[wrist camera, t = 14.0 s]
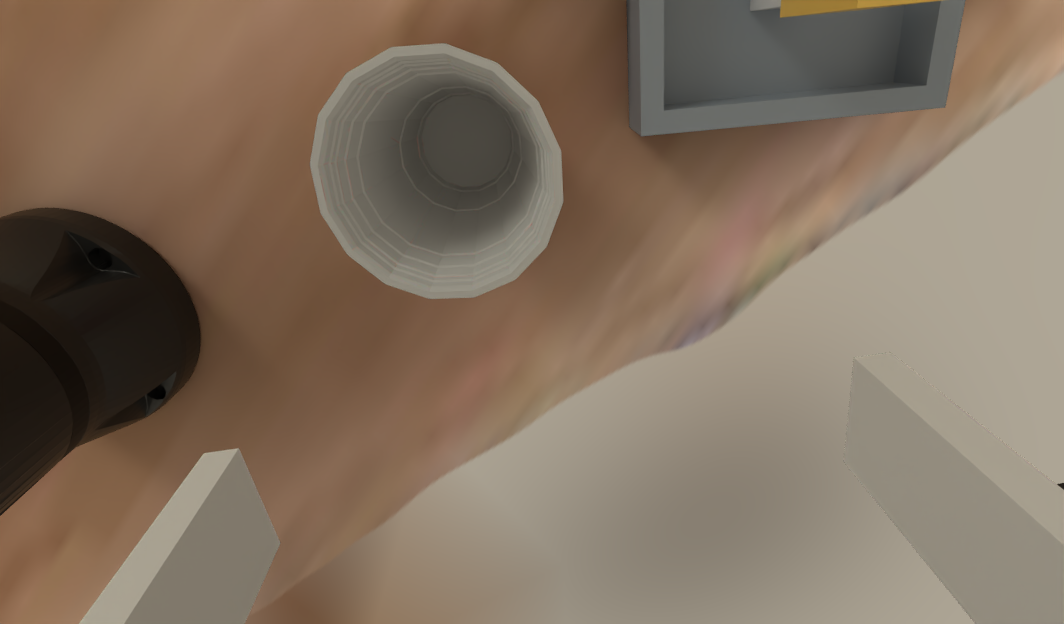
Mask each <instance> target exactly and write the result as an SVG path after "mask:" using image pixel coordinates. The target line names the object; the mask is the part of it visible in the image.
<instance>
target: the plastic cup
mask: <svg viewBox="0 0 1064 624" xmlns="http://www.w3.org/2000/svg"><path fill="white" fill-rule="evenodd" d="M310 168H311V172H312V177H313V181H314V186H315V190H316V195H317V199H318V204H319V208H320V213H321V215H322V216H323V218H324V219H325V221H326V222H327V224H328V225H329V227H330V229H331V230H332V232H333V233H334V235H335V236H336V238H337V239H338V241H339V242H340V244H341V246H342V247H343V249H344V250H345V252H346V253H347V255H348V256H350V257H351V258H352V259H354V260H355V261H356V262H357V263H359V264H360V265H361V266H363V267H364V268H365V269H366V270H368V271H369V272H370V273H372V274H373V275H374V276H375V277H377V278H378V279H379V280H381V281H382V282H383V283H384V284H386V285H389V286H392V287H395V288H398V289H401V290H404V291H407V292H410V293H413V294H416V295H419V296H422V297H425V298H428V299H442V298H473V297H477V296H479V295H481V294H484V293H486V292H488V291H490V290H493V289H495V288H497V287H500V286H502V285H504V284H507V283H509V282H511V281H513V280H516V278H517V277H518V276H519V275H520V274H521V273H522V272H523V271H524V270H525V269H526V268H527V267H528V266H529V265H530V264H531V263H532V262H533V261H534V260H535V259H536V258H537V256H538V255H539V254H540V253H541V252H542V251H543V250H544V249H545V248H546V247H547V245H548V242H549V239H550V237H551V234H552V231H553V229H554V226H555V223H556V220H557V218H558V215H559V212H560V210H561V207H562V204H563V182H562V159H561V149H560V147H559V145H558V143H557V141H556V139H555V136H554V134H553V132H552V130H551V128H550V125H549V123H548V121H547V119H546V117H545V115H544V112H543V110H542V108H541V106H540V104H539V101H538V100H536V99H535V98H534V97H533V96H532V95H531V94H530V93H529V92H528V91H527V90H526V89H525V88H524V87H523V86H522V85H521V84H519V83H518V82H517V81H516V80H515V79H514V78H513V77H512V76H511V75H510V74H509V73H508V72H507V71H506V70H505V69H504V68H502V67H501V66H500V65H499V64H498V63H497V62H494V61H491V60H489V59H486V58H483V57H480V56H478V55H475V54H472V53H470V52H467V51H464V50H462V49H459V48H456V47H454V46H451V45H448V44H446V43H442V44H428V45H414V46H400V47H390V48H389V49H387V50H385V51H384V52H382V53H380V54H378V55H377V56H375V57H373V58H371V59H370V60H368V61H366V62H365V63H363V64H361V65H359V66H358V67H356V68H354V69H352V70H351V71H349V72H347V73H346V74H345V76H344V77H343V79H342V80H341V82H340V83H339V85H338V86H337V88H336V89H335V91H334V92H333V93H332V95H331V96H330V98H329V99H328V101H327V102H326V104H325V105H324V107H323V108H322V110H321V111H320V113H319V114H318V118H317V124H316V130H315V136H314V142H313V148H312V154H311V160H310Z"/></svg>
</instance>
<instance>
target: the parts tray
mask: <svg viewBox="0 0 1064 624" xmlns="http://www.w3.org/2000/svg"><path fill="white" fill-rule="evenodd" d="M964 5H965V0H943V1H935V2H926V3H917V4H909V5H900V6H891V7H883V8H874V9H865V10H856V11H846V12H835V13H825V14H814V15H803V16H793V17H782V18H780V9H781V8H779V9H769V10H758V11H750V0H627V42H628V87H629V127H630V128H631V129H632V130H634V131H635V132H636V133H638V134H639V135H640V136H650V135H661V134H671V133H682V132H692V131H703V130H713V129H724V128H734V127H745V126H755V125H766V124H776V123H787V122H797V121H808V120H818V119H829V118H839V117H850V116H860V115H871V114H881V113H892V112H903V111H913V110H924V109H934V108H945V106H946V101H947V95H948V90H949V85H950V80H951V74H952V69H953V64H954V58H955V53H956V48H957V42H958V37H959V32H960V26H961V21H962V16H963V10H964Z"/></svg>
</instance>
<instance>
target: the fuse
mask: <svg viewBox="0 0 1064 624" xmlns="http://www.w3.org/2000/svg"><path fill="white" fill-rule="evenodd" d="M935 1H943V0H750V11H758V10H769V9H779V8H781V9H780V18H782V17H793V16H803V15H814V14H825V13H835V12H846V11H856V10H865V9H874V8H883V7H891V6H900V5H909V4H917V3H926V2H935Z"/></svg>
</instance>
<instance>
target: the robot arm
mask: <svg viewBox="0 0 1064 624" xmlns="http://www.w3.org/2000/svg"><path fill="white" fill-rule="evenodd" d="M199 351H200V329H199V323H198V318H197V315H196V311H195V308H194V306H193V303H192V301H191V299H190V297H189V295H188V293H187V291H186V289H185V287H184V286H183V284H182V283H181V281H180V280H179V278H178V277H177V275H176V274H175V273H174V271H173V270H172V269H171V268H170V267H169V265H168V264H167V263H166V262H165V261H164V260H163V259H162V258H161V257H160V256H159V255H158V254H157V253H156V252H155V251H154V250H153V249H151V248H150V247H149V246H148V245H146V244H145V243H144V242H142V241H141V240H140V239H138V238H137V237H135V236H134V235H132V234H131V233H129V232H128V231H126V230H124V229H122V228H121V227H119V226H117V225H115V224H113V223H111V222H108V221H106V220H104V219H101V218H98V217H95V216H93V215H89V214H86V213H82V212H78V211H73V210H67V209H59V208H36V209H29V210H24V211H19V212H16V213H13V214H10V215H7V216H4V217H1V218H0V516H1V515H2V514H3V513H4V512H5V511H6V510H7V509H8V508H9V507H10V506H11V505H13V504H14V503H15V502H16V501H17V500H18V499H19V498H20V497H21V496H22V495H24V494H25V493H26V492H27V491H28V490H29V489H30V488H31V487H32V486H33V485H34V484H36V483H37V482H38V481H39V480H40V479H41V478H42V477H43V476H44V475H45V474H46V473H48V472H49V471H50V470H51V469H52V468H53V467H54V466H55V465H56V464H57V463H58V462H59V461H60V460H62V459H63V458H64V457H65V456H66V455H67V454H68V453H70V452H71V451H72V450H73V449H74V448H75V447H78V446H80V445H82V444H85V443H87V442H90V441H92V440H94V439H97V438H99V437H102V436H104V435H106V434H109V433H111V432H114V431H116V430H118V429H121V428H123V427H126V426H128V425H130V424H133V423H135V422H137V421H140V420H142V419H144V418H146V417H148V416H149V415H151V414H152V413H154V412H155V411H157V410H158V409H160V408H161V407H162V406H163V405H165V404H166V403H167V402H168V401H169V400H170V399H171V398H172V397H173V396H174V395H175V394H176V393H177V392H178V391H179V390H180V389H181V388H182V387H183V386H184V385H185V383H186V382H187V381H188V379H189V378H190V376H191V375H192V373H193V371H194V368H195V366H196V363H197V360H198V356H199ZM844 463H845V464H846V465H847V467H848V468H849V469H850V471H851V472H852V473H853V474H854V475H855V477H856V478H857V479H858V480H859V481H860V483H861V484H862V485H863V486H864V488H865V489H866V490H867V491H868V493H869V494H870V495H871V496H872V498H873V499H874V500H875V501H876V502H877V503H878V505H879V506H880V507H881V508H882V510H883V511H884V512H885V513H886V514H887V516H888V517H889V518H890V520H891V521H892V522H893V523H894V525H895V526H896V527H897V528H898V529H899V531H900V532H901V533H902V534H903V536H904V537H905V538H906V539H907V540H908V542H909V543H910V544H911V545H912V547H913V548H914V549H915V550H916V552H917V553H918V554H919V555H920V556H921V558H922V559H923V560H924V561H925V563H926V564H927V565H928V566H929V567H930V569H931V570H932V571H933V572H934V574H935V575H936V576H937V577H938V578H939V580H940V581H941V582H942V583H943V585H944V586H945V587H946V588H947V589H948V590H949V592H950V593H951V594H952V596H953V597H954V598H955V599H956V600H957V602H958V603H959V604H960V605H961V607H962V608H963V609H964V610H965V612H966V613H967V614H968V615H969V617H970V618H971V619H972V620H973V621H974V623H975V624H1064V483H1061V484H1056V483H1055V482H1053V481H1052V480H1051V479H1049V478H1048V477H1047V476H1046V475H1044V474H1043V473H1042V472H1041V471H1039V470H1038V469H1037V468H1036V467H1034V466H1033V465H1032V464H1031V463H1029V462H1028V461H1027V460H1026V459H1024V458H1023V457H1022V456H1021V455H1019V454H1018V453H1017V452H1015V451H1014V450H1013V449H1012V448H1010V447H1009V446H1008V445H1007V444H1005V443H1004V442H1003V441H1001V440H1000V439H999V438H998V437H997V436H995V435H994V434H993V433H992V432H990V431H989V430H988V429H987V428H985V427H984V426H982V424H980V423H979V422H977V421H976V420H975V419H974V418H973V417H971V416H970V415H969V414H968V413H966V412H965V411H964V410H963V409H961V408H960V407H959V406H958V405H956V404H955V403H954V402H952V401H951V400H950V399H949V398H947V397H946V396H945V395H944V394H942V393H941V392H940V391H939V390H937V389H936V388H935V387H934V386H932V385H931V384H930V383H929V382H927V381H926V380H925V379H924V378H922V377H921V376H920V375H919V374H917V373H916V372H915V371H914V370H912V369H911V368H910V367H908V366H907V365H906V364H905V363H904V362H902V361H901V360H900V359H899V358H897V357H896V356H895V355H893V354H892V353H891V352H889V353H881V354H875V355H868V356H861V357H854V361H853V371H852V381H851V391H850V401H849V412H848V422H847V432H846V442H845V452H844ZM279 545H280V541H279V539H278V536H277V534H276V532H275V529H274V527H273V525H272V523H271V520H270V518H269V516H268V514H267V511H266V509H265V507H264V504H263V502H262V500H261V498H260V495H259V493H258V491H257V488H256V486H255V484H254V482H253V479H252V477H251V475H250V473H249V470H248V468H247V466H246V463H245V461H244V459H243V457H242V454H241V452H240V450H239V448H237V449H230V450H224V451H217V452H210V453H204V454H203V455H202V456H201V458H200V459H199V461H198V462H197V463H196V465H195V466H194V467H193V469H192V470H191V471H190V473H189V474H188V476H187V477H186V478H185V480H184V481H183V482H182V484H181V485H180V487H179V488H178V489H177V491H176V492H175V493H174V495H173V496H172V497H171V499H170V500H169V502H168V503H167V504H166V506H165V507H164V508H163V510H162V511H161V512H160V514H159V515H158V517H157V518H156V519H155V521H154V522H153V523H152V525H151V526H150V527H149V529H148V530H147V532H146V533H145V534H144V536H143V537H142V538H141V540H140V541H139V543H138V544H137V545H136V547H135V548H134V549H133V551H132V552H131V553H130V555H129V556H128V558H127V559H126V560H125V562H124V563H123V564H122V566H121V567H120V568H119V570H118V571H117V573H116V574H115V575H114V577H113V578H112V579H111V581H110V582H109V583H108V585H107V586H106V588H105V589H104V590H103V592H102V593H101V594H100V596H99V597H98V599H97V600H96V601H95V603H94V604H93V605H92V607H91V608H90V609H89V611H88V612H87V614H86V615H85V616H84V618H83V619H82V620H81V622H80V623H79V624H245V621H246V619H247V617H248V615H249V612H250V610H251V608H252V606H253V603H254V601H255V599H256V597H257V595H258V592H259V590H260V588H261V586H262V583H263V581H264V579H265V577H266V574H267V572H268V570H269V568H270V565H271V563H272V561H273V559H274V556H275V554H276V552H277V550H278V547H279Z"/></svg>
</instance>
